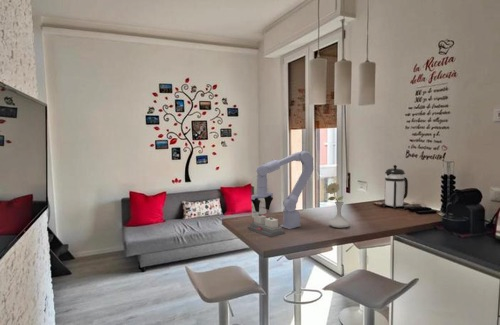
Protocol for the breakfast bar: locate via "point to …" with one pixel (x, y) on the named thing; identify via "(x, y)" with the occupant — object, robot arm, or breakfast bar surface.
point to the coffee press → (395, 187)
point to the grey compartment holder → (267, 227)
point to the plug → (259, 219)
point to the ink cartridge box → (260, 208)
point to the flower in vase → (338, 219)
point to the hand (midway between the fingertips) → (262, 210)
